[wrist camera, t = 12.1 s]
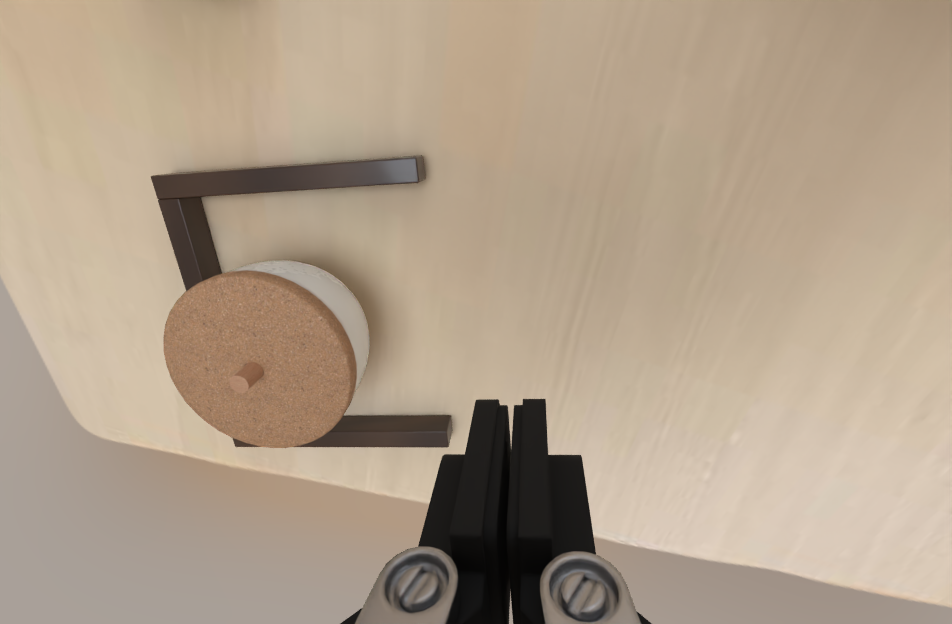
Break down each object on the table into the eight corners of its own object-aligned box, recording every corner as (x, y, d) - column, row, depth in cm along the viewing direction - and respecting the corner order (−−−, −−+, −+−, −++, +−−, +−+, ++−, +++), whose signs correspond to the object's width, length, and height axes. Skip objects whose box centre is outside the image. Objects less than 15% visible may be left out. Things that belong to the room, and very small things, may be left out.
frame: (423, 155, 28) (416, 156, 26) (452, 430, 35) (448, 447, 33) (172, 173, 30) (149, 176, 28) (249, 431, 37) (234, 447, 35)
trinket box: (238, 228, 31) (125, 267, 22) (396, 256, 30) (345, 307, 22) (243, 368, 35) (150, 448, 26) (383, 394, 34) (336, 484, 26)
